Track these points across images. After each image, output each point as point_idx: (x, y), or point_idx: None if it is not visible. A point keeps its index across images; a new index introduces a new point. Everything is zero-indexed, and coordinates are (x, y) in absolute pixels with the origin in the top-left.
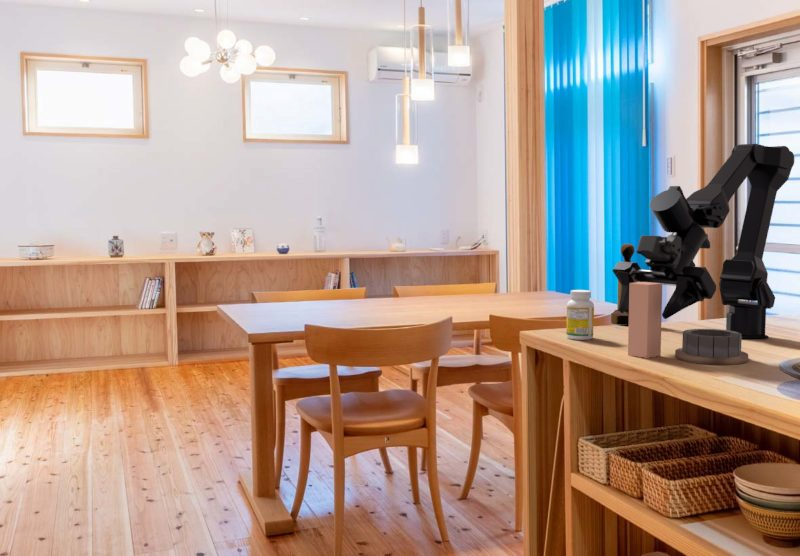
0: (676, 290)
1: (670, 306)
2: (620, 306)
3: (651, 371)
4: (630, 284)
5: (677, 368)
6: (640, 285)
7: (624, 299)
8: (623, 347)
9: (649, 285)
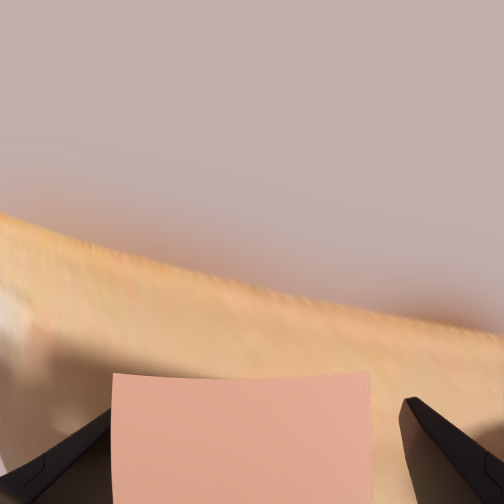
0: (24, 494)
1: (78, 431)
2: (418, 407)
3: (133, 263)
4: (350, 373)
5: (108, 340)
6: (211, 379)
7: (431, 440)
8: (410, 478)
9: (115, 391)
